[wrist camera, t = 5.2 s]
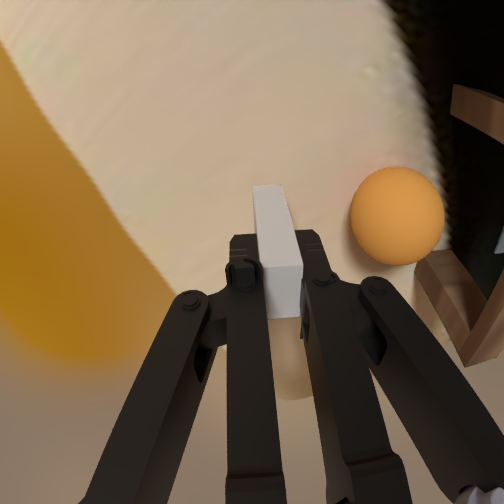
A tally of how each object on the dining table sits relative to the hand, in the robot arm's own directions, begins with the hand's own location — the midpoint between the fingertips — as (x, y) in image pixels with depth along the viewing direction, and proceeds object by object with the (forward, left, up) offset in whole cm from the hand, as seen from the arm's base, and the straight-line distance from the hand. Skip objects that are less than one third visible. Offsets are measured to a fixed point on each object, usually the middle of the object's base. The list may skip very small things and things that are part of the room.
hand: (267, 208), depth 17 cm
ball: (0, +7, +1) cm, 7 cm away
